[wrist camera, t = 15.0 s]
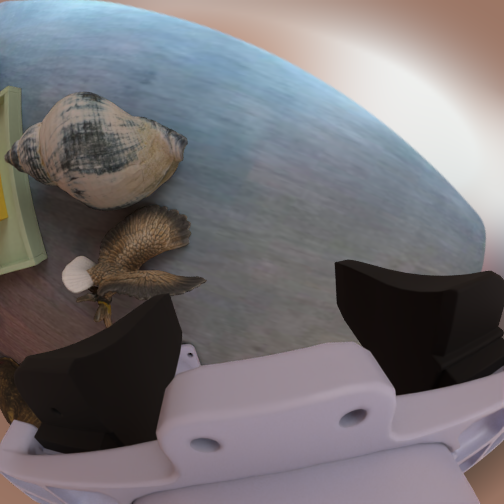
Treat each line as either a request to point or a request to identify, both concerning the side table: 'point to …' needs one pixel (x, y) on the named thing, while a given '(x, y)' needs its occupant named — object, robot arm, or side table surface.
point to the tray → (16, 195)
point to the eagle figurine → (132, 261)
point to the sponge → (2, 204)
